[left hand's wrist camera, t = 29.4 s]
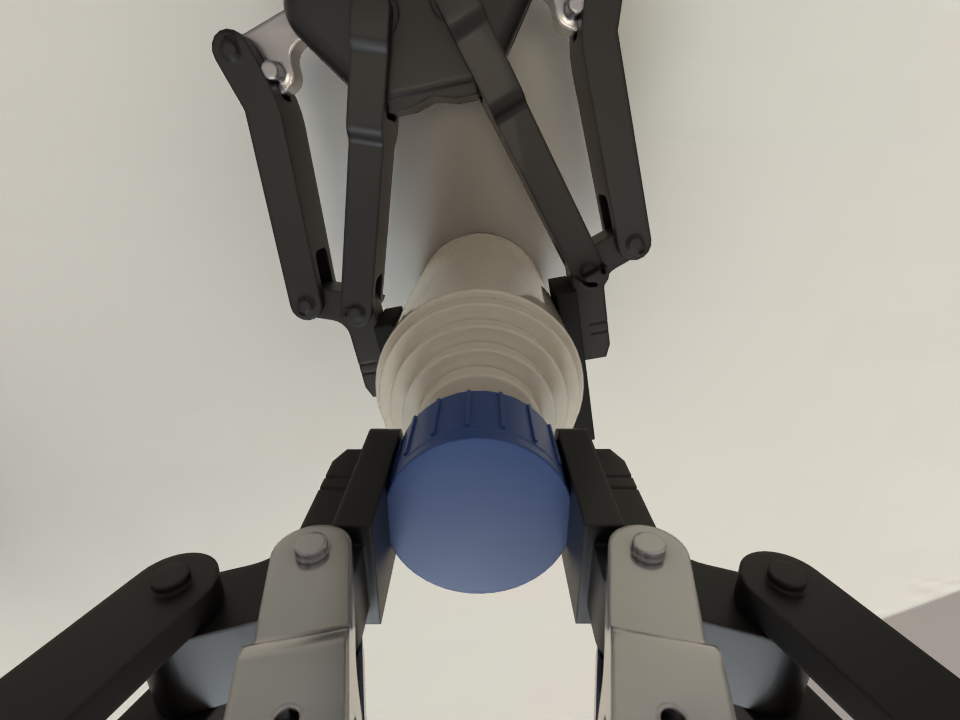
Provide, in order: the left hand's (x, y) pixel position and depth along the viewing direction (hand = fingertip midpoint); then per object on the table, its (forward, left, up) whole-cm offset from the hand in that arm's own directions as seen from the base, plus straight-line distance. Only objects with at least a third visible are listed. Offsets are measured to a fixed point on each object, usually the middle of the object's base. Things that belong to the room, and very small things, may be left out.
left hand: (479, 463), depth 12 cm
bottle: (0, 0, -16) cm, 16 cm away
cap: (0, 0, +2) cm, 2 cm away
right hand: (+2, -5, -10) cm, 11 cm away
